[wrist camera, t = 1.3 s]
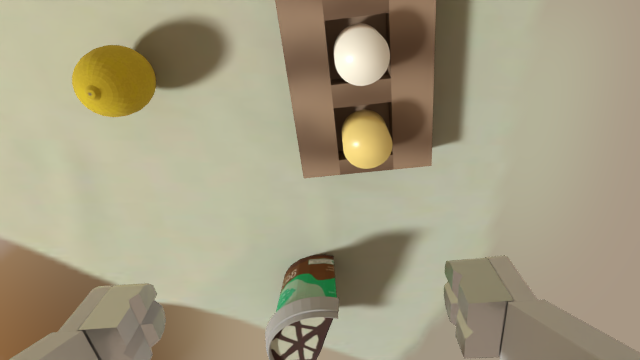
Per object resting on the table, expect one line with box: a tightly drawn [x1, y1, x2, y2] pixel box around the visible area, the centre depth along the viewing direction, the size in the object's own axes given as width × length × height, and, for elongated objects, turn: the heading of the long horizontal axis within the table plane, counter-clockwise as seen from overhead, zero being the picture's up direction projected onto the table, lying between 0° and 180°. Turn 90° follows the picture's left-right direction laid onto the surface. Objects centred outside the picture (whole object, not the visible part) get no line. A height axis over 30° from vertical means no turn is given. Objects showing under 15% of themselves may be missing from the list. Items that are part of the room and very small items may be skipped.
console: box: [275, 0, 436, 178], centre depth 31 cm, size 22×12×4 cm, turn 7°
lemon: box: [72, 45, 156, 117], centre depth 30 cm, size 6×6×8 cm
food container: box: [265, 255, 339, 360], centre depth 41 cm, size 12×6×10 cm, turn 165°
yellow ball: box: [342, 110, 392, 169], centre depth 31 cm, size 4×4×4 cm
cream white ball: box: [334, 23, 390, 86], centre depth 28 cm, size 4×4×4 cm
